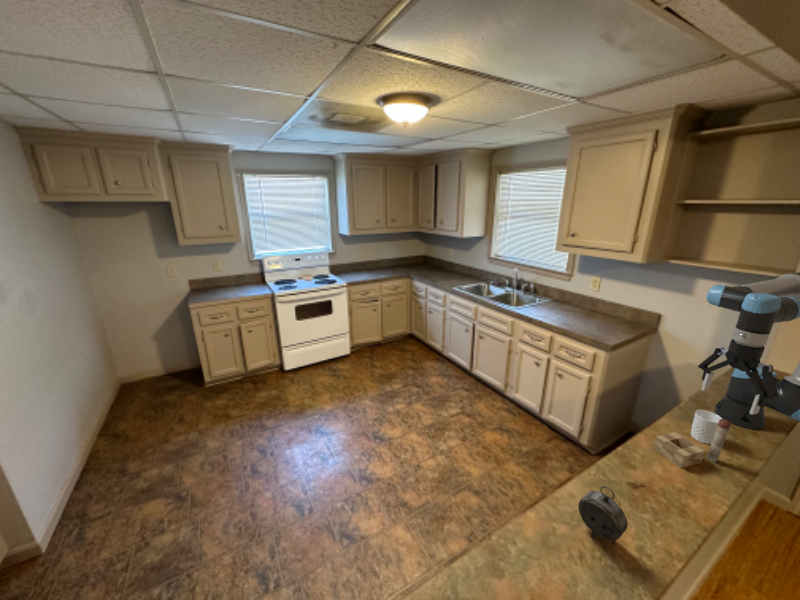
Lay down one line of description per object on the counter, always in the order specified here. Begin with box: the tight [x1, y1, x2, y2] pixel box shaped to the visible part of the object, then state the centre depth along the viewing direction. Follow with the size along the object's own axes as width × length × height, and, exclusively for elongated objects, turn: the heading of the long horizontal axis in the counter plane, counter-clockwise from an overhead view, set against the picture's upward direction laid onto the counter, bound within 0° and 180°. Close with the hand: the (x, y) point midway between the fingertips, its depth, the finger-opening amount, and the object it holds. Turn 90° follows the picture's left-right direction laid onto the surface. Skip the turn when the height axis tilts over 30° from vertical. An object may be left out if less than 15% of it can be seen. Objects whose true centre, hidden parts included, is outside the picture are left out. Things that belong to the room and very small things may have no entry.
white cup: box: [690, 409, 723, 445], centre depth 127 cm, size 8×8×10 cm
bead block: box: [652, 431, 706, 469], centre depth 119 cm, size 10×10×5 cm
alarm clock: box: [577, 485, 628, 546], centre depth 89 cm, size 11×5×16 cm, turn 34°
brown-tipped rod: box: [705, 418, 732, 464], centre depth 115 cm, size 3×3×16 cm
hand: (727, 400), depth 110 cm, fingers open, 13 cm apart
